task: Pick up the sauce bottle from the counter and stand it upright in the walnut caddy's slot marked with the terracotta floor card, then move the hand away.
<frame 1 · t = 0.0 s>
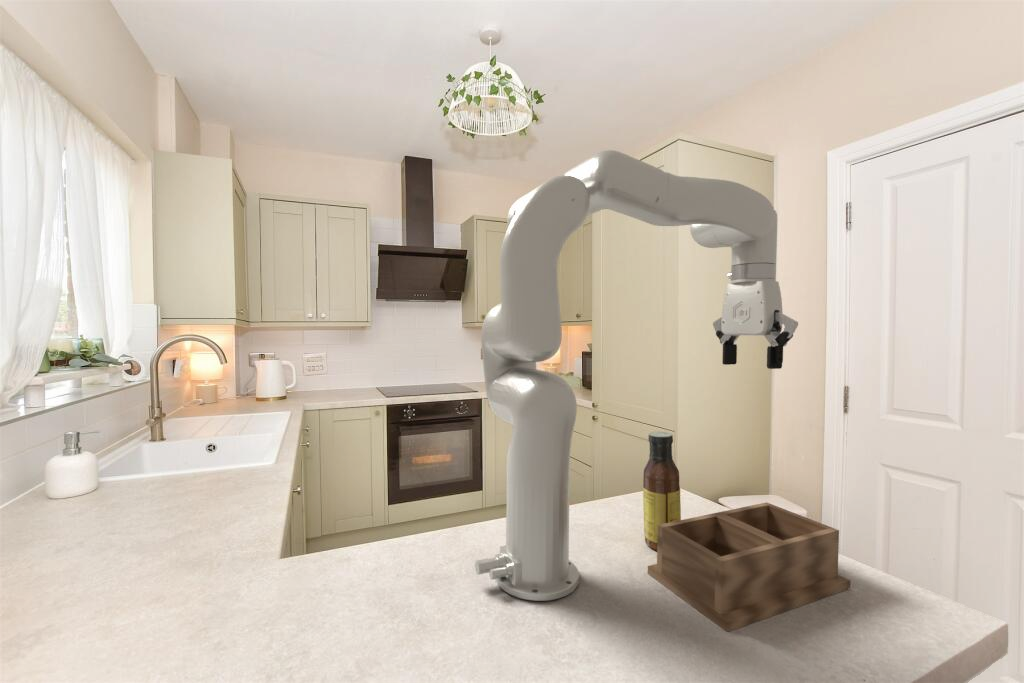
hand: (750, 366, 88), 31 cm above the countertop, tool pointing down, fingers open, 9 cm apart
sauce bottle: (661, 546, 82), on the countertop
caddy: (746, 580, 70), on the countertop
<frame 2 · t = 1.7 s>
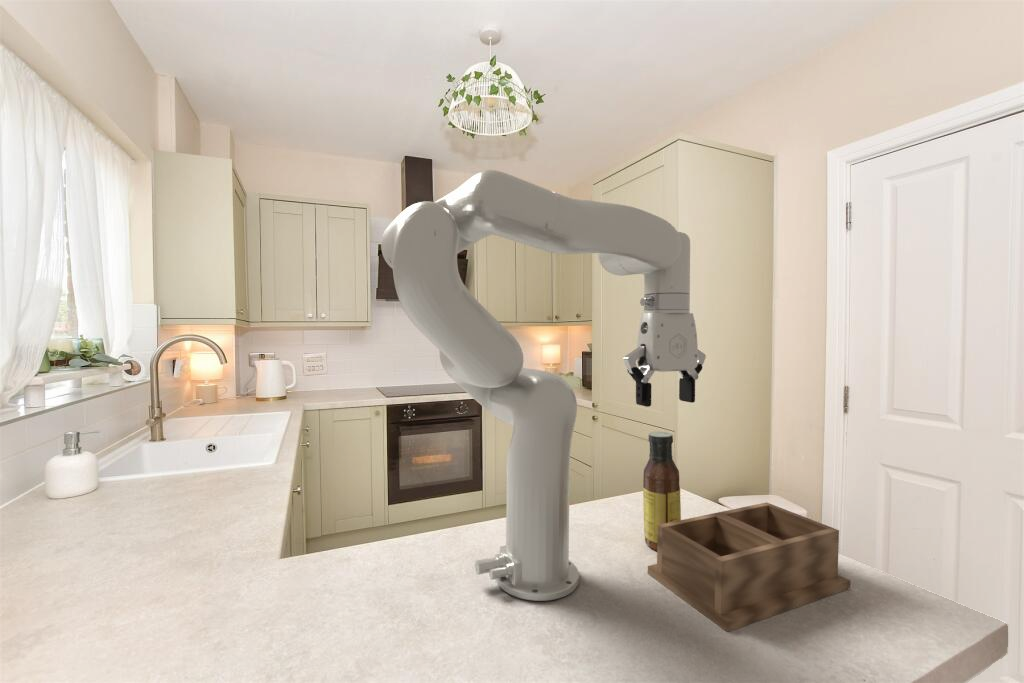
hand: (665, 403, 81), 25 cm above the countertop, tool pointing down, fingers open, 9 cm apart
nothing on the countertop moved.
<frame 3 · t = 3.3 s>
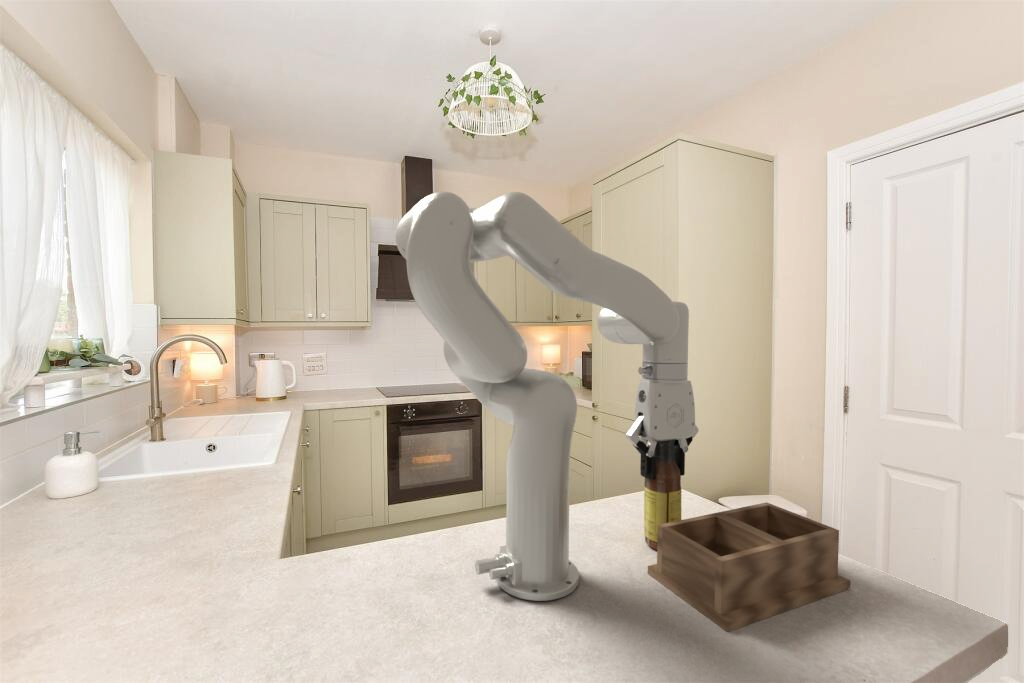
hand: (662, 474, 81), 13 cm above the countertop, tool pointing down, fingers closed on sauce bottle, 5 cm apart
sauce bottle: (661, 546, 82), on the countertop, touching gripper
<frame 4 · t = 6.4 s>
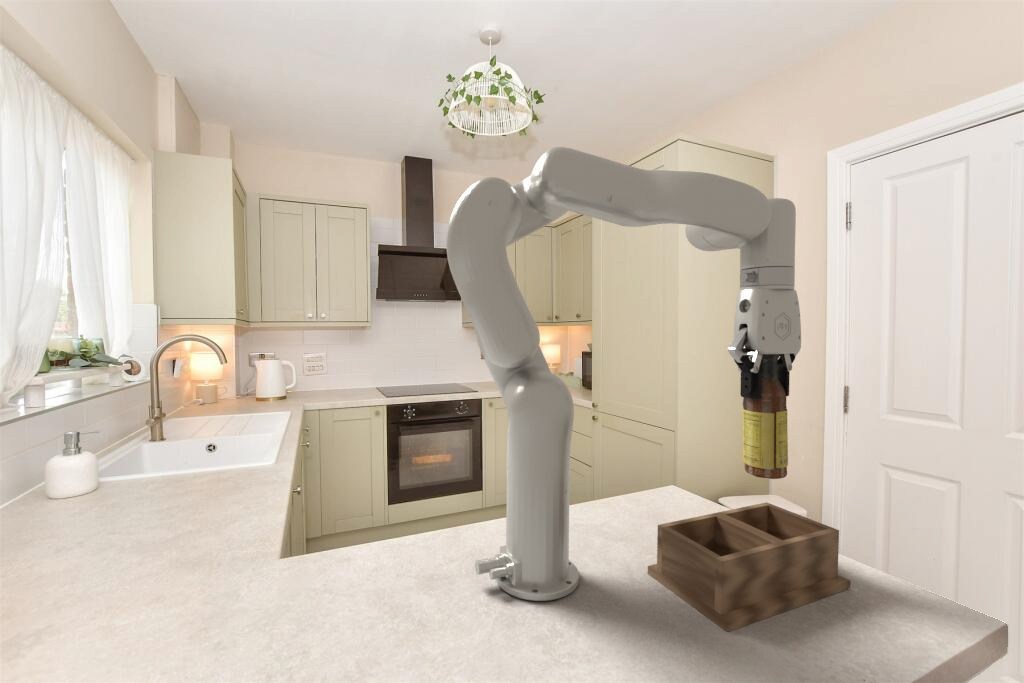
hand: (764, 395, 73), 28 cm above the countertop, tool pointing down, fingers closed on sauce bottle, 5 cm apart
sauce bottle: (763, 475, 73), point 15 cm above the countertop, touching gripper
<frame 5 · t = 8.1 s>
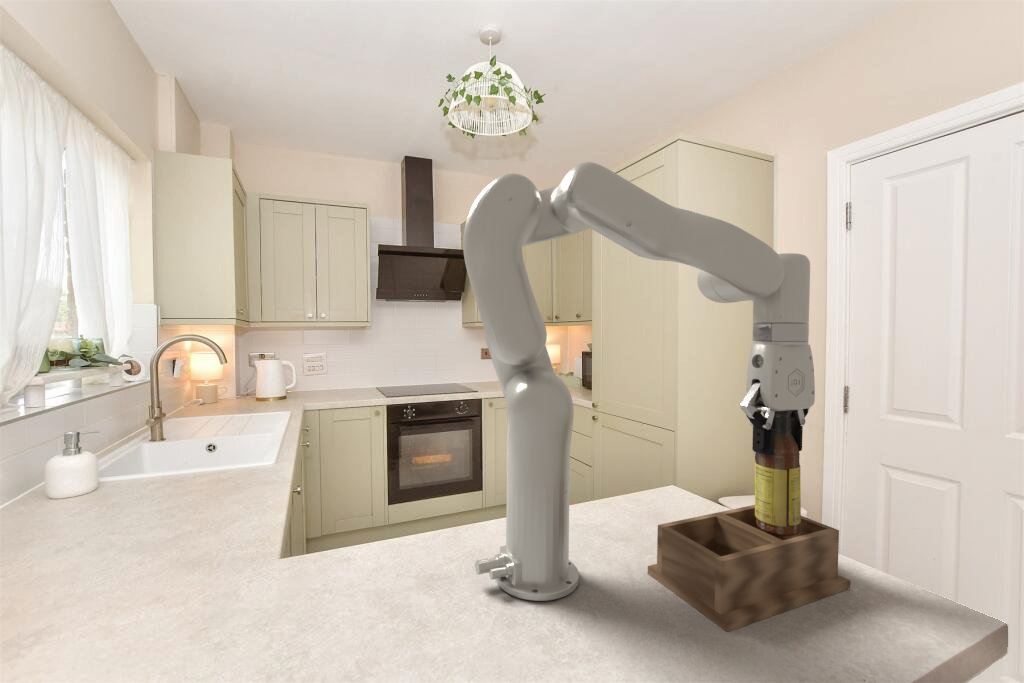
hand: (777, 450, 72), 19 cm above the countertop, tool pointing down, fingers closed on sauce bottle, 5 cm apart
sauce bottle: (775, 530, 73), point 7 cm above the countertop, touching gripper
when the fingers open (15 cm above the countertop, at t = 9.4 s): sauce bottle stays where it is, resting on caddy.
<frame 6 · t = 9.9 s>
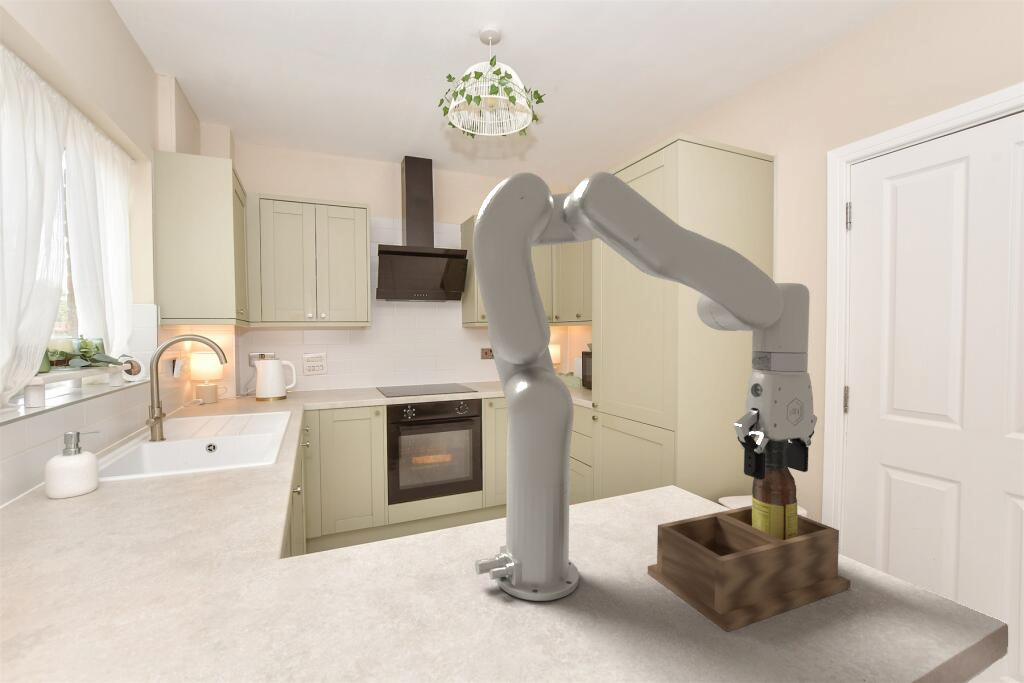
hand: (776, 473, 72), 16 cm above the countertop, tool pointing down, fingers open, 9 cm apart
sauce bottle: (773, 564, 73), point 1 cm above the countertop, touching caddy
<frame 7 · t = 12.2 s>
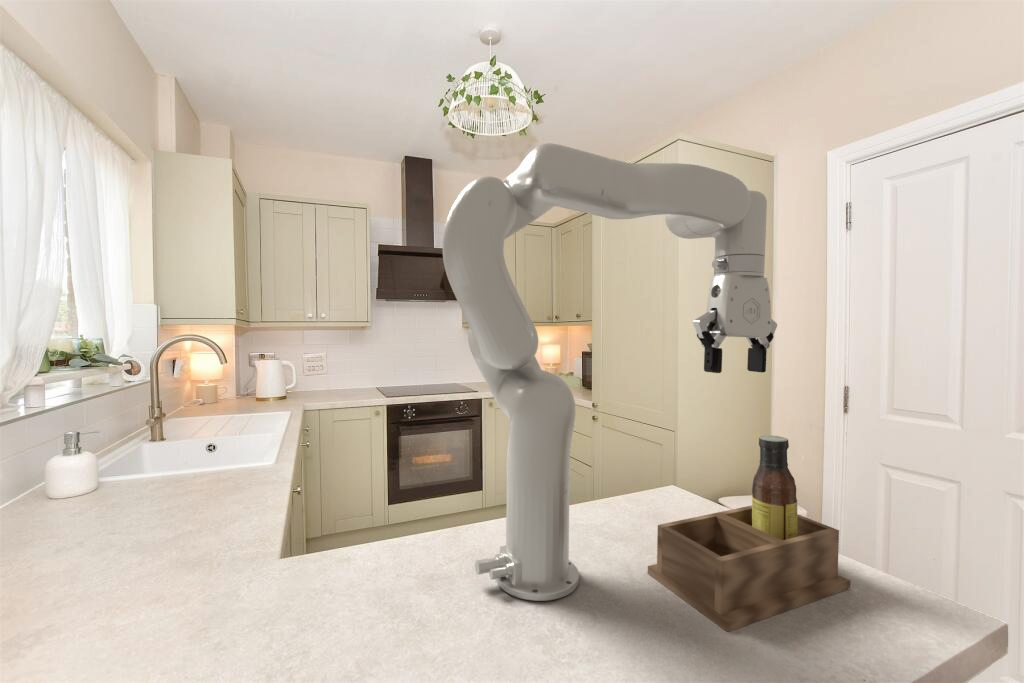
hand: (734, 371, 77), 31 cm above the countertop, tool pointing down, fingers open, 9 cm apart
nothing on the countertop moved.
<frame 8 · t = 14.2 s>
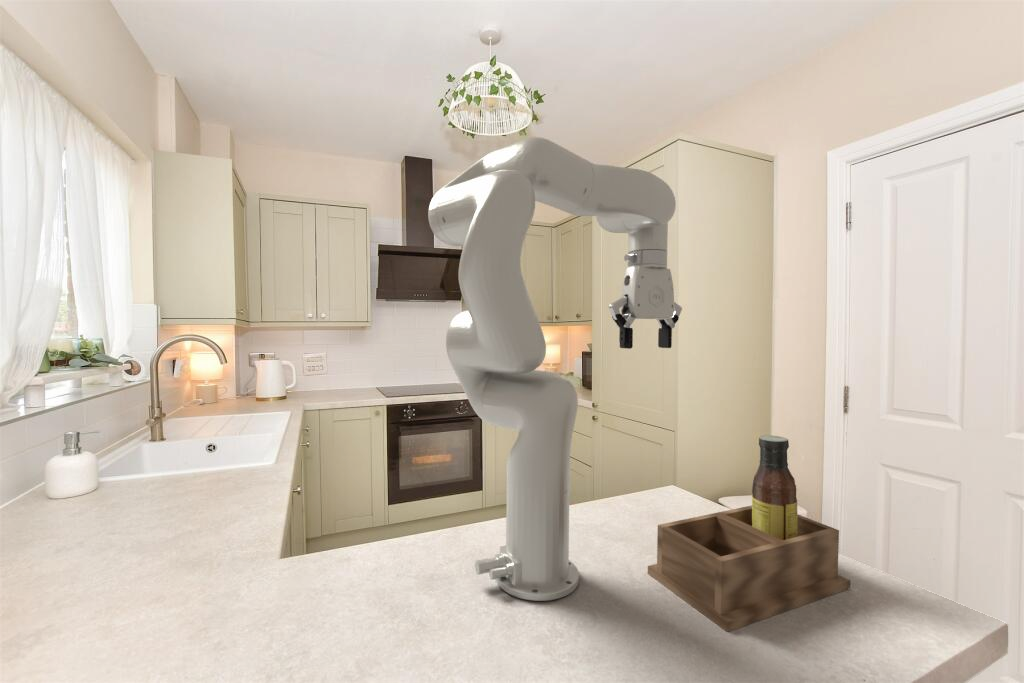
hand: (645, 348, 93), 34 cm above the countertop, tool pointing down, fingers open, 9 cm apart
nothing on the countertop moved.
at the end: sauce bottle 0.1 cm from the target spot on the caddy, point 1.3 cm above the caddy's base; sauce bottle tilted 0°; the gripper is holding nothing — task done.
